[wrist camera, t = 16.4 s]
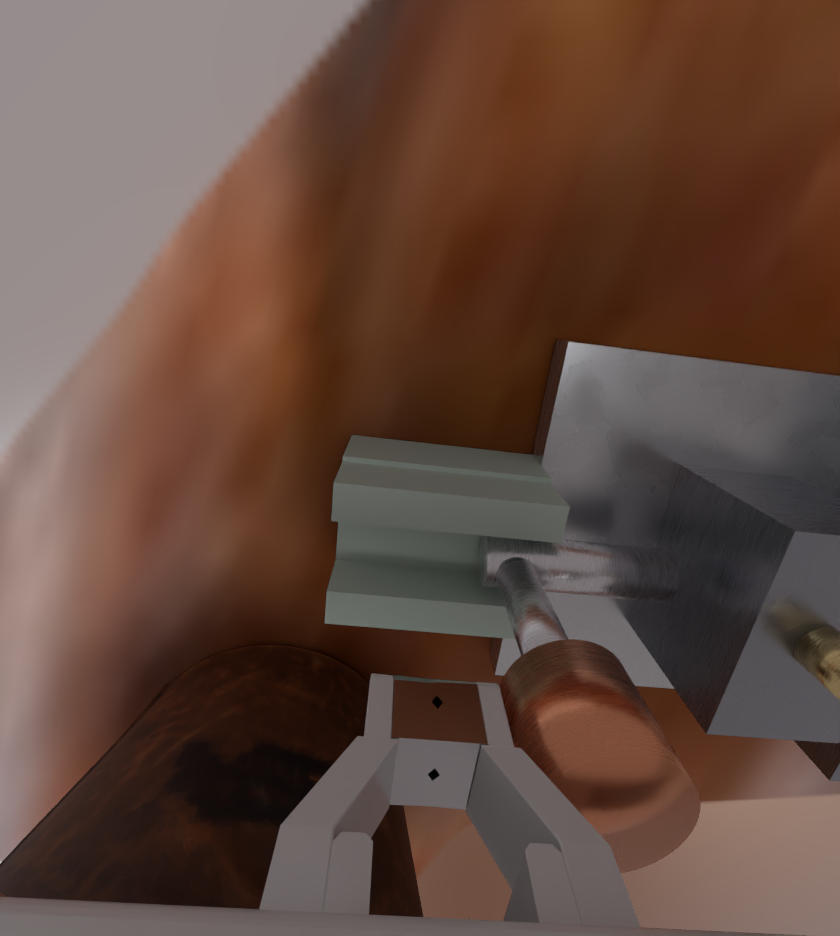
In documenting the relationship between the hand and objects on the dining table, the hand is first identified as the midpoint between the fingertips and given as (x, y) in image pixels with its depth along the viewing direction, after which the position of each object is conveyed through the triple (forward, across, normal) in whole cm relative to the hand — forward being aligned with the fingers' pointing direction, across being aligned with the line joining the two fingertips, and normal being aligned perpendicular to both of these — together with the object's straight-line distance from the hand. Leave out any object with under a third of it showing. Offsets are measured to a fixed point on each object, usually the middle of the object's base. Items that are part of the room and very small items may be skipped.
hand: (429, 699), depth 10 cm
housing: (+10, -13, 0) cm, 16 cm away
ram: (+8, -6, 0) cm, 10 cm away
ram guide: (+11, -1, 0) cm, 11 cm away
